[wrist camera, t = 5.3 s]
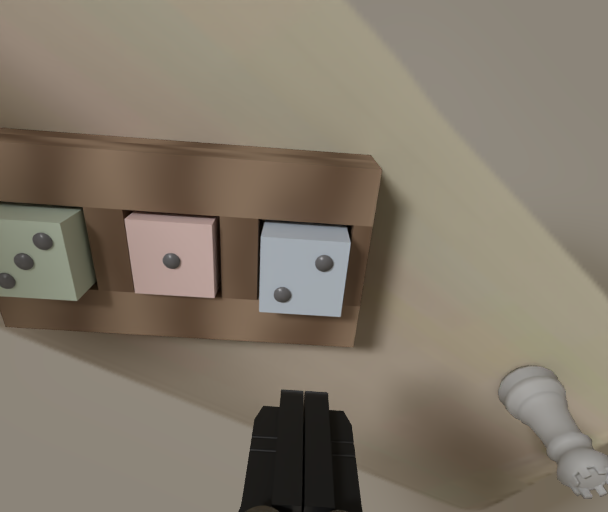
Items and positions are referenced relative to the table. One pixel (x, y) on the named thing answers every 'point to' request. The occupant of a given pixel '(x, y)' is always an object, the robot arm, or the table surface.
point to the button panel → (199, 201)
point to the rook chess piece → (555, 428)
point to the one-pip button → (174, 253)
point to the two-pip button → (303, 267)
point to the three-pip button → (44, 252)
